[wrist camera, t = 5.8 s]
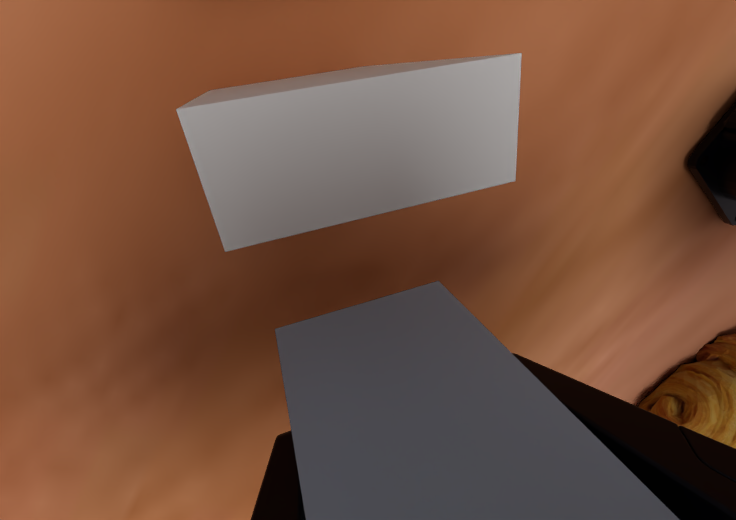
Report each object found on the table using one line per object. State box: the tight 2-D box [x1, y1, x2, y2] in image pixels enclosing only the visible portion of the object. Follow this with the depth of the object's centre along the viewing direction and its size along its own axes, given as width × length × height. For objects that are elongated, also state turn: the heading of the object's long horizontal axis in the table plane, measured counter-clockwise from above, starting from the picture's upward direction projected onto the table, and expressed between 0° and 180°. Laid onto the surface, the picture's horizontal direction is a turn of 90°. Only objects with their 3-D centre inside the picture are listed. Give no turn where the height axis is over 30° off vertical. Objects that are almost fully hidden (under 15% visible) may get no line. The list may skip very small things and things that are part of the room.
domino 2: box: [275, 281, 679, 520], centre depth 8 cm, size 2×5×8 cm, turn 98°
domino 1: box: [176, 53, 522, 252], centre depth 9 cm, size 2×5×8 cm, turn 98°
